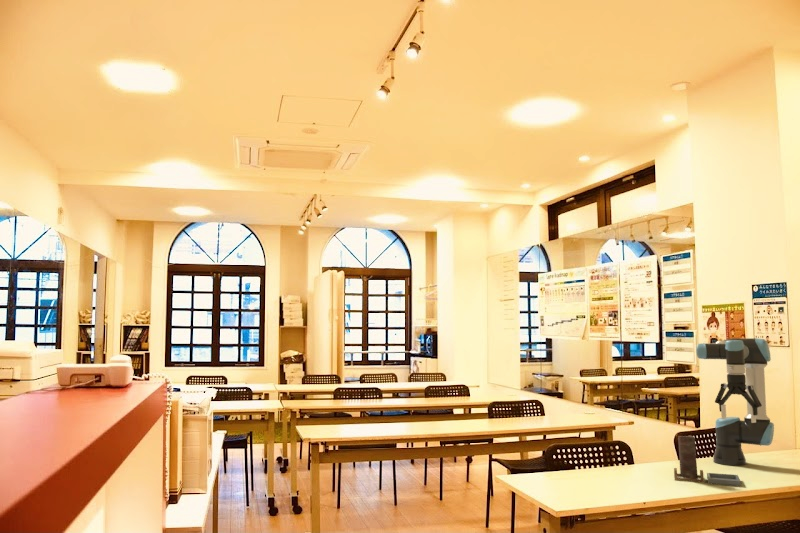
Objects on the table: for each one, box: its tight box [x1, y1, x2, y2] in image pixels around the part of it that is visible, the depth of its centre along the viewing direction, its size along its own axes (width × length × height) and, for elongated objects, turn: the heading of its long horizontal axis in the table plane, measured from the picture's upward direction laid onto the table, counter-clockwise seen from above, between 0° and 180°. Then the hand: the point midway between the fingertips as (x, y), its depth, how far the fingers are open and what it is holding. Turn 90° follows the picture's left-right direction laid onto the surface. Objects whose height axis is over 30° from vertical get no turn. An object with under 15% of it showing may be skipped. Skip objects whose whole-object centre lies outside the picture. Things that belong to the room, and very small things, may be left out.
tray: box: [706, 472, 742, 487], centre depth 294 cm, size 13×13×2 cm
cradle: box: [673, 467, 705, 483], centre depth 301 cm, size 10×12×4 cm
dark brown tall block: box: [677, 434, 699, 479], centre depth 302 cm, size 8×7×20 cm
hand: (738, 420), depth 293 cm, fingers open, 13 cm apart
